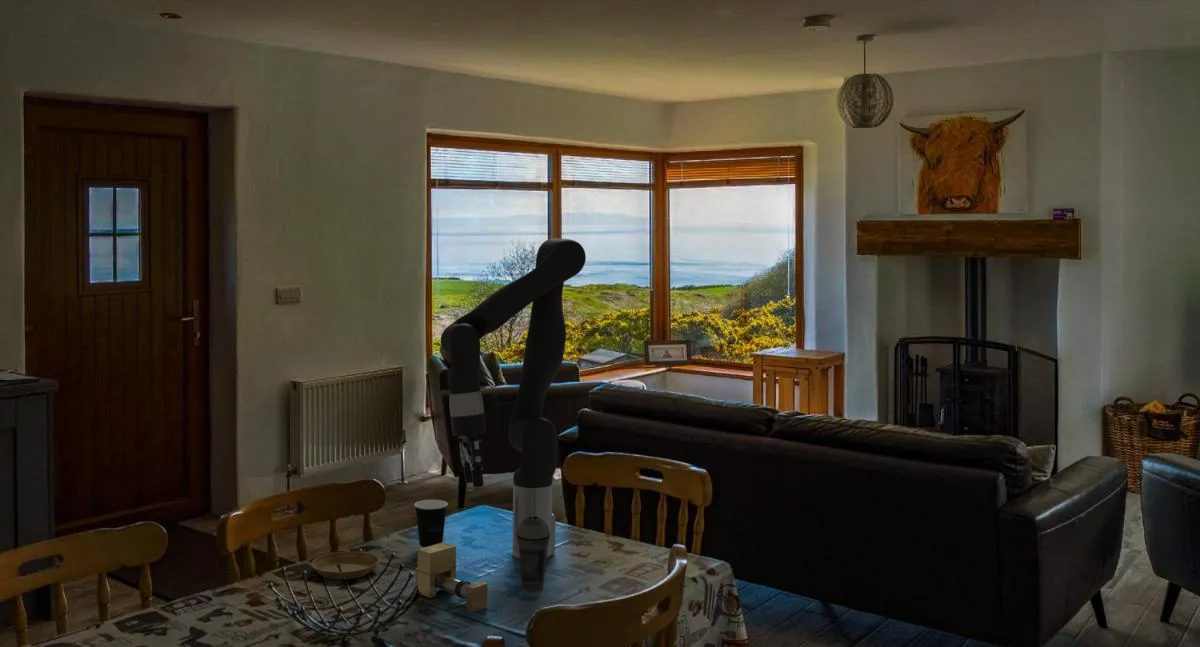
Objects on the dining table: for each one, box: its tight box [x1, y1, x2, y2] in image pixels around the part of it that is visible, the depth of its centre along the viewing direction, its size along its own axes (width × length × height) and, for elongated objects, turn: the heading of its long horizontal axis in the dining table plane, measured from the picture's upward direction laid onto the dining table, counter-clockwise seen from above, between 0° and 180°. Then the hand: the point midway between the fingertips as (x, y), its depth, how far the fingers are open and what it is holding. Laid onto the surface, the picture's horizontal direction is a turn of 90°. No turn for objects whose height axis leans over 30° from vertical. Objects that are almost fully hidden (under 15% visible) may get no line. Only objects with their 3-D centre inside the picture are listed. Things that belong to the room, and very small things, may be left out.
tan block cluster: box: [415, 567, 488, 613], centre depth 226 cm, size 18×9×5 cm, turn 48°
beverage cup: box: [517, 496, 550, 592], centre depth 233 cm, size 7×7×20 cm
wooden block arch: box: [417, 542, 457, 599], centre depth 228 cm, size 4×7×10 cm, turn 138°
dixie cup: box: [414, 499, 449, 549], centre depth 260 cm, size 8×8×11 cm
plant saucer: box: [310, 551, 380, 581], centre depth 242 cm, size 15×15×3 cm
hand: (474, 484), depth 243 cm, fingers open, 8 cm apart
